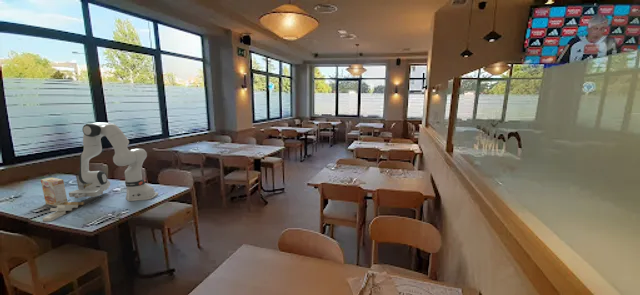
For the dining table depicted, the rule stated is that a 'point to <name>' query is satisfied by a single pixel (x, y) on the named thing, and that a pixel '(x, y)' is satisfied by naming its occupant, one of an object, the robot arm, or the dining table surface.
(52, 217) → the tile
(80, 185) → the coffee box
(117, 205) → the dining table surface
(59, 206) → the tile
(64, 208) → the tile
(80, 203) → the wooden block
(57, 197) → the coffeecake box
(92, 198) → the mat
